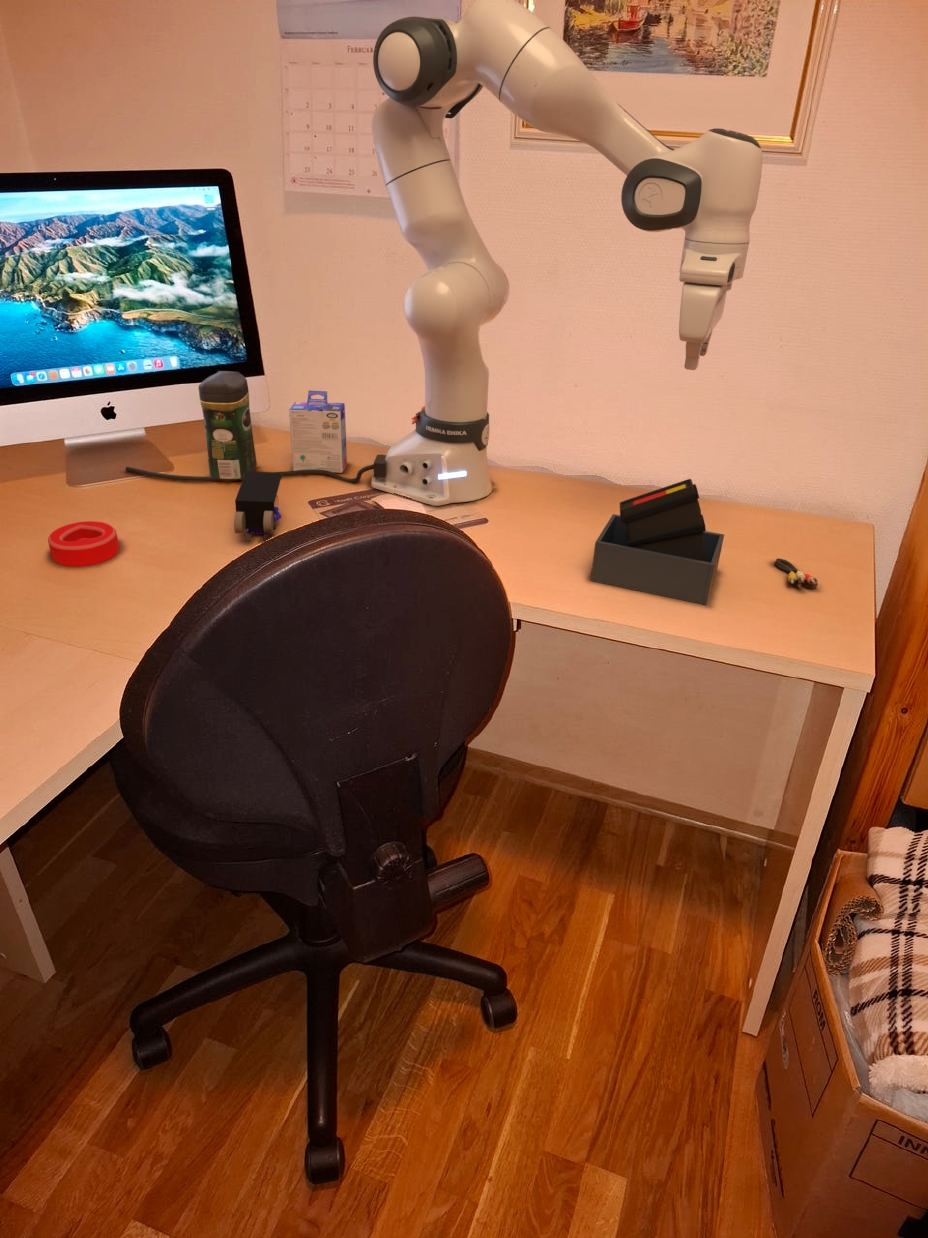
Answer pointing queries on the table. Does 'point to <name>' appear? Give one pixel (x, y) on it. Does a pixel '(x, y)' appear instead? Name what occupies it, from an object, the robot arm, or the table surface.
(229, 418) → the coffee jar
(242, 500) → the toy wheeled vehicle
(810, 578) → the composite cable
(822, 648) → the table surface
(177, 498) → the table surface
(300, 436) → the ink cartridge box
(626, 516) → the magazine
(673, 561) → the box
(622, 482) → the table surface
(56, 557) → the decorative ornament
